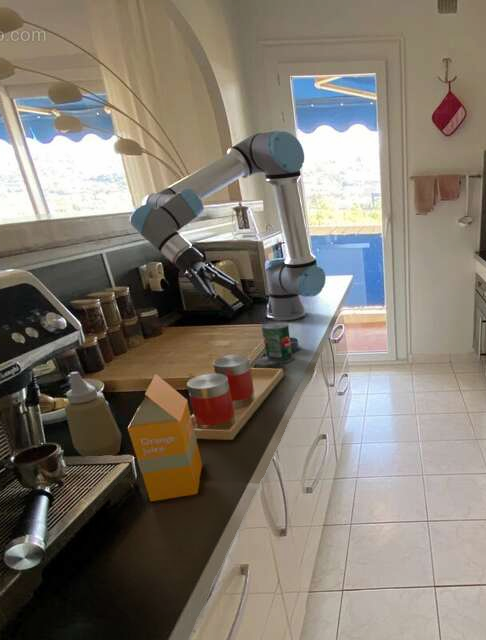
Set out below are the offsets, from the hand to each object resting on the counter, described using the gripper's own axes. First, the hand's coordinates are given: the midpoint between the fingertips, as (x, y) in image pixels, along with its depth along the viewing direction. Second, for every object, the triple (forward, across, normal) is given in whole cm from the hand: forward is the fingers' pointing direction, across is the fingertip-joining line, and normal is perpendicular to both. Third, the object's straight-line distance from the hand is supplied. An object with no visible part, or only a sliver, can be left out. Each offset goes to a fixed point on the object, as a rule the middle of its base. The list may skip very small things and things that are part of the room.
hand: (242, 309), depth 133 cm
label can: (+17, +44, -5) cm, 48 cm away
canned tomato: (+18, 0, -4) cm, 18 cm away
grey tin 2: (+18, -8, -3) cm, 20 cm away
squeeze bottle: (+5, +56, -19) cm, 59 cm away
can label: (+17, +32, -5) cm, 37 cm away
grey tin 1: (+18, +10, -4) cm, 21 cm away
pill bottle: (+1, +46, -24) cm, 52 cm away
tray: (+18, +32, -5) cm, 37 cm away
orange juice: (+19, +64, -5) cm, 67 cm away
